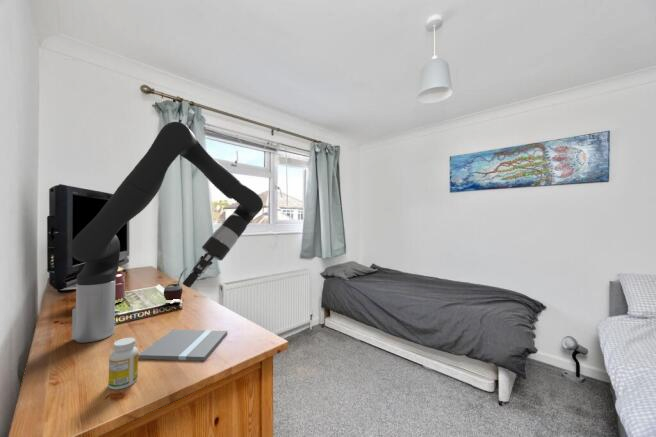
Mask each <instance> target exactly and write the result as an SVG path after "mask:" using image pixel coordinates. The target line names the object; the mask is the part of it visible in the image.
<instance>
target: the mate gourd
mask: <svg viewBox="0 0 656 437" xmlns="http://www.w3.org/2000/svg"><path fill="white" fill-rule="evenodd" d="M186 270H188V267H186V268H185V269H184V270H182V272H181V273H180V274H179V275H180V276H179V277H178V278H179V279H178V281H177V283H170V284H167V285H166V286H165V288H164V290H163V297H164V300H165V301H166V300H173V299H180V301H181V300H182V296H183V290H184V289H183V286H182V285H181V284H179V283H180V281H181V278H182V277H183V275H184V273H185V271H186Z"/></svg>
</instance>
